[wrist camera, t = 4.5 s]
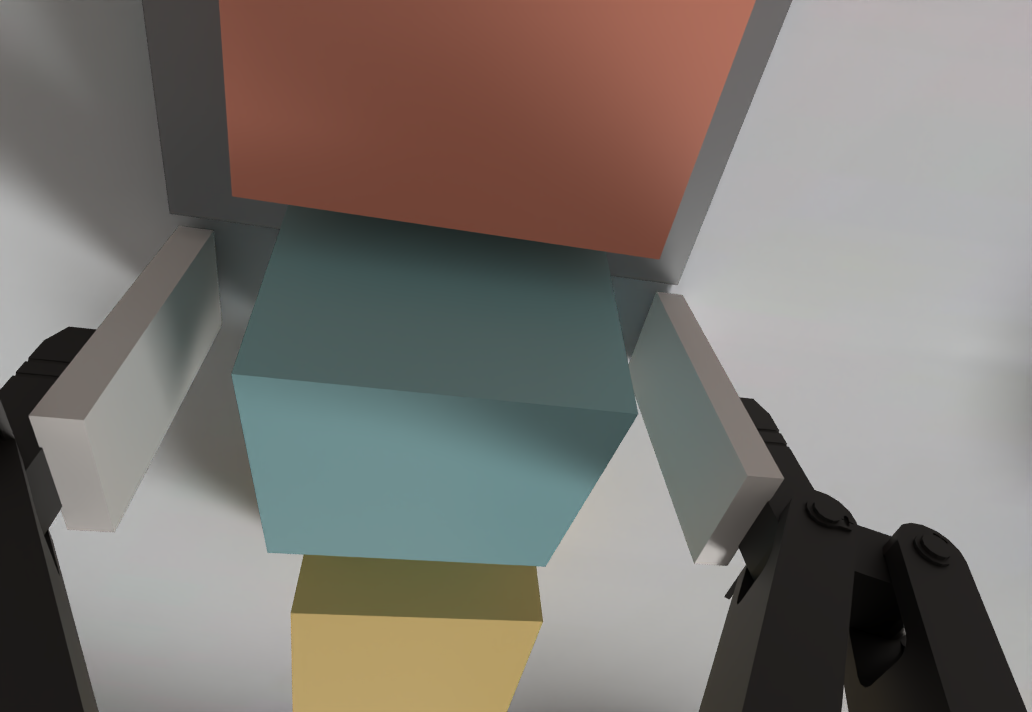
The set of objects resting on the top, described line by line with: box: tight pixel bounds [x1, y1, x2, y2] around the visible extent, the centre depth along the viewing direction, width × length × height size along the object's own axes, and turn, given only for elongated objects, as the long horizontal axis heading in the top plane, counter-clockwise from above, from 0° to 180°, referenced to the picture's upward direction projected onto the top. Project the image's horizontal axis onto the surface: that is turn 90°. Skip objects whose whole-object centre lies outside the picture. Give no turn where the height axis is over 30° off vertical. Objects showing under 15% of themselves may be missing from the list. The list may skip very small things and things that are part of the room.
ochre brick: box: [291, 554, 543, 712], centre depth 19 cm, size 6×6×6 cm
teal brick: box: [231, 205, 638, 567], centre depth 13 cm, size 6×6×6 cm
